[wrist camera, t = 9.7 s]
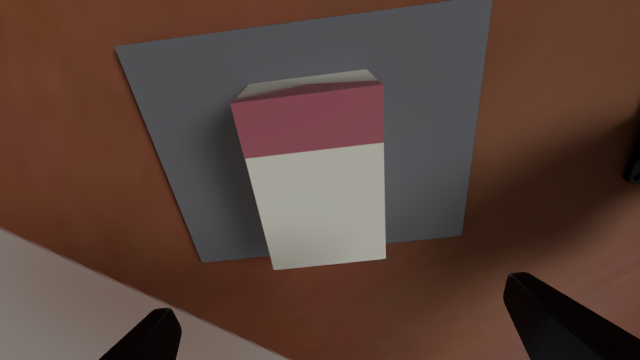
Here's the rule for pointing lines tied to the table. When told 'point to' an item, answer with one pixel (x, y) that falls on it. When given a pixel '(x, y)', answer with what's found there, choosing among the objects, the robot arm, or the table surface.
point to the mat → (310, 60)
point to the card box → (316, 166)
